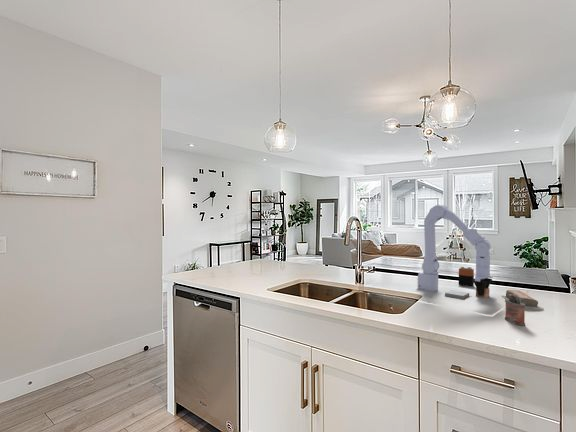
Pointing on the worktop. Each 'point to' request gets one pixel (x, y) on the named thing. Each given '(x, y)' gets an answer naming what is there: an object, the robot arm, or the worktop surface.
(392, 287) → the worktop surface
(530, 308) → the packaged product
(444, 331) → the worktop surface
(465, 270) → the battery
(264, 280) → the worktop surface
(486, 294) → the terracotta cube
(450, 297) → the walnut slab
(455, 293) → the slate slab
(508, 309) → the red snack pouch
